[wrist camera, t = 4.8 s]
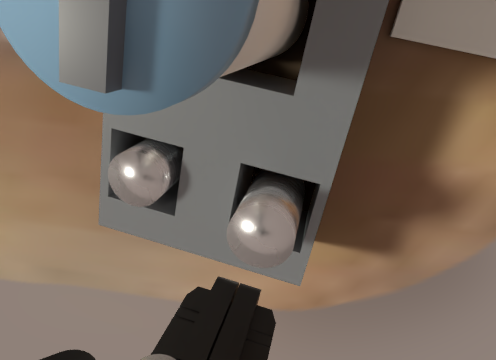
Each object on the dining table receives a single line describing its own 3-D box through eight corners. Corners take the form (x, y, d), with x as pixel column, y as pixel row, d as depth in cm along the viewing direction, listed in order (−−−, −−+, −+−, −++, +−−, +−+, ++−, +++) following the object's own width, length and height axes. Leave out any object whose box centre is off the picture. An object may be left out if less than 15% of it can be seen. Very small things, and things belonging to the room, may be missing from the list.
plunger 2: (258, 159, 21) (233, 198, 16) (311, 173, 21) (301, 218, 16) (248, 206, 22) (221, 256, 17) (298, 220, 22) (285, 276, 17)
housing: (167, -120, 20) (114, -166, 15) (404, -80, 18) (425, -118, 13) (139, 191, 27) (98, 224, 22) (307, 240, 25) (299, 286, 21)
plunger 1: (157, 121, 24) (109, 144, 19) (202, 133, 24) (165, 160, 18) (153, 164, 25) (106, 198, 20) (196, 176, 25) (159, 213, 20)
